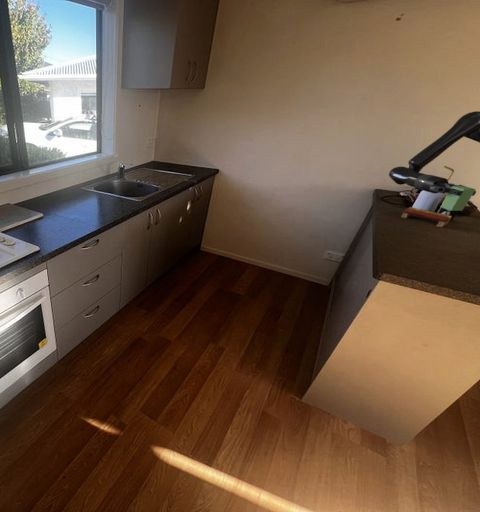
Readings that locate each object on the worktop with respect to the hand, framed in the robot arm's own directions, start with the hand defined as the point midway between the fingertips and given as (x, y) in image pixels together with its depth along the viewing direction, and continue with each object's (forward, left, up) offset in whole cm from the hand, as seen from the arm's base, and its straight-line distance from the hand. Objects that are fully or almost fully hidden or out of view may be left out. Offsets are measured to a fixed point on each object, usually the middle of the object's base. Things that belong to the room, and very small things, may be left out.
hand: (467, 193), depth 128 cm
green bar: (+2, -1, -8) cm, 8 cm away
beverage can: (+7, -27, -20) cm, 34 cm away
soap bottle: (+18, -36, -20) cm, 45 cm away
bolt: (+10, -48, -20) cm, 53 cm away
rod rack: (+11, -15, -20) cm, 27 cm away
